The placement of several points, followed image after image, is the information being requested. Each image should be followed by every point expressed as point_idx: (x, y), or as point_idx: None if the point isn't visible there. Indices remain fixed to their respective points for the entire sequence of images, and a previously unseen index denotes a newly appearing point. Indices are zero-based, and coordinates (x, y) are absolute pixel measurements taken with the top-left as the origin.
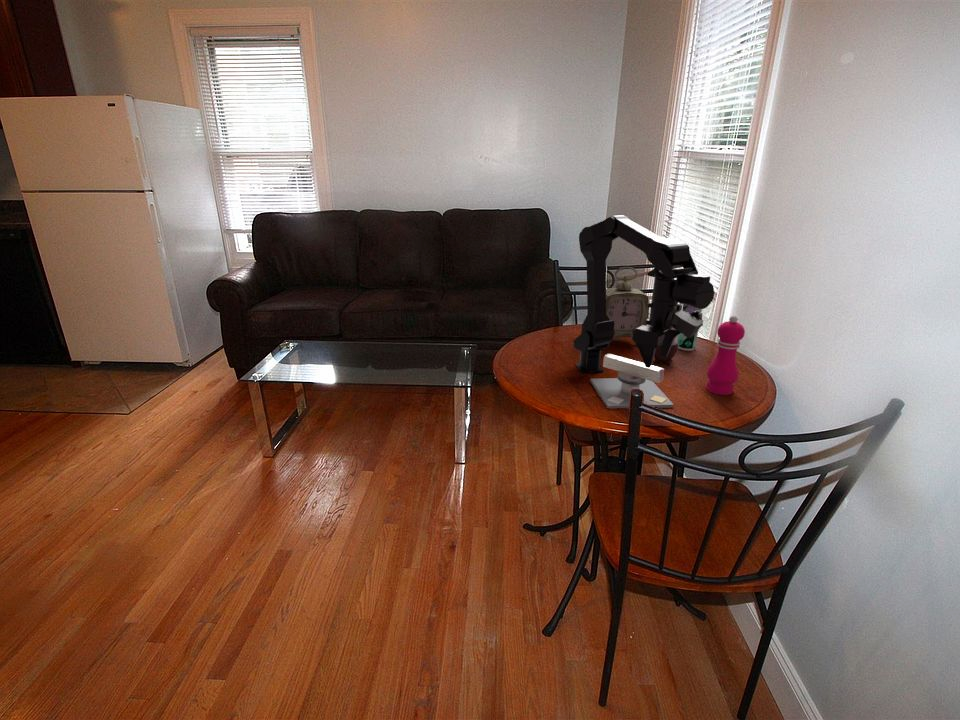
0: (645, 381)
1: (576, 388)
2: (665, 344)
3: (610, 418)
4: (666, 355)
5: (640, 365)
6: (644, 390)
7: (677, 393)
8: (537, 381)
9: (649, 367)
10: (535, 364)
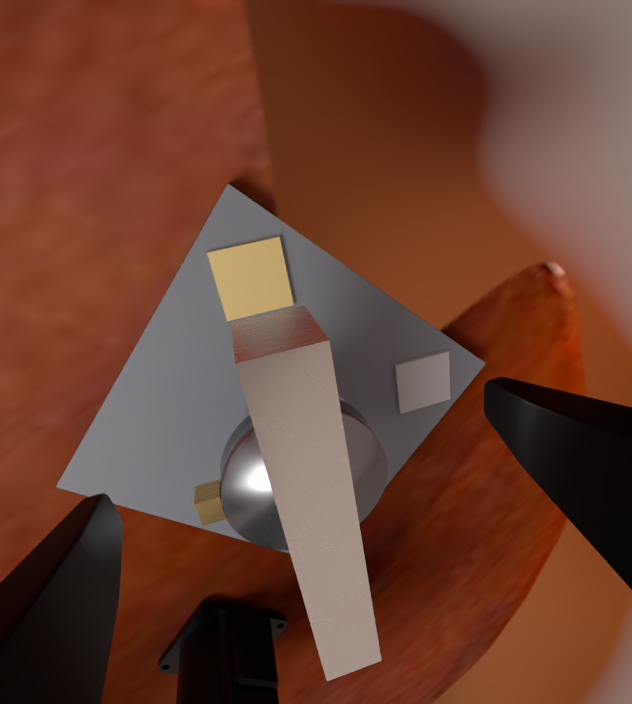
0: (121, 460)
1: (409, 526)
2: (53, 683)
3: (537, 296)
4: (96, 507)
5: (341, 495)
6: (220, 390)
7: (34, 285)
8: (454, 599)
9: (506, 379)
10: (357, 689)
